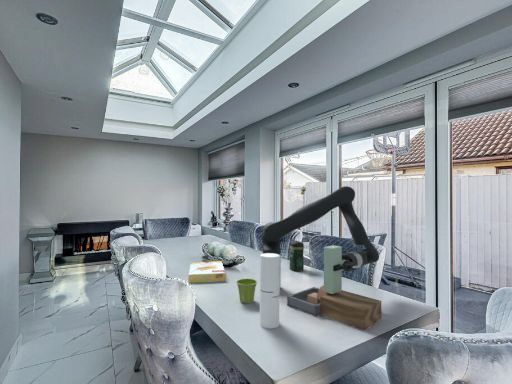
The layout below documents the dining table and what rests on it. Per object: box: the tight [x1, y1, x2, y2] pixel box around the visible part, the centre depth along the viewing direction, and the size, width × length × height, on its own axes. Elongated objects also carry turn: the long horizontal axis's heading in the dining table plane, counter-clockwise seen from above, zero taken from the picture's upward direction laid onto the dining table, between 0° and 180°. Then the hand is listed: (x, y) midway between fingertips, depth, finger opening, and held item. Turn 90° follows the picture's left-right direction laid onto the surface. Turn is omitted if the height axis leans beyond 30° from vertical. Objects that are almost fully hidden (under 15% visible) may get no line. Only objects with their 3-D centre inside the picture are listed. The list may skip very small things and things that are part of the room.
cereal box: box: [188, 261, 226, 284], centre depth 166 cm, size 20×6×28 cm
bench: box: [319, 290, 382, 332], centre depth 109 cm, size 14×18×7 cm
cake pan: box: [200, 254, 213, 262], centre depth 198 cm, size 25×25×4 cm
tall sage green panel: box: [323, 245, 343, 294], centre depth 115 cm, size 7×4×18 cm, turn 133°
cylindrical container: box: [259, 253, 281, 329], centre depth 102 cm, size 7×7×25 cm
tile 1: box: [307, 293, 320, 305], centre depth 120 cm, size 5×5×4 cm
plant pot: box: [235, 278, 258, 304], centre depth 125 cm, size 9×9×9 cm
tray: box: [286, 286, 321, 317], centre depth 121 cm, size 19×15×4 cm
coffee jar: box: [289, 240, 305, 272], centre depth 180 cm, size 10×8×19 cm
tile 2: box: [316, 285, 329, 300], centre depth 117 cm, size 5×5×4 cm
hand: (329, 267), depth 113 cm, fingers closed on tall sage green panel, 4 cm apart
